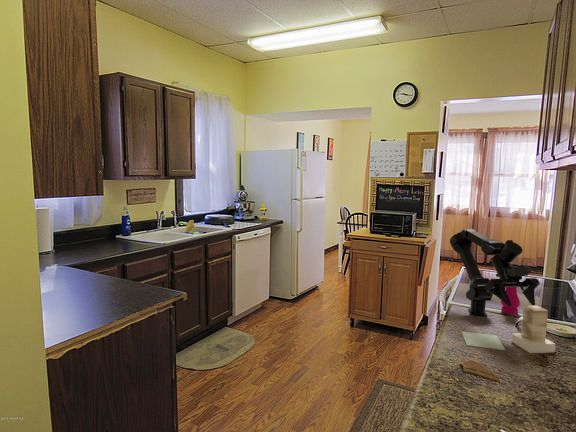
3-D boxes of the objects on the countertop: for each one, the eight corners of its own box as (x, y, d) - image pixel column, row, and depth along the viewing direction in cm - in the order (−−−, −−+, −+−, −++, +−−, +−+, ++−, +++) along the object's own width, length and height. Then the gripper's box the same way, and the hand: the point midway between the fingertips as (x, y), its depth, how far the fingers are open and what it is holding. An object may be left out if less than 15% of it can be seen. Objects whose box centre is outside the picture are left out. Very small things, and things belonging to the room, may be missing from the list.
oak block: (521, 335, 133) (523, 305, 132) (534, 335, 133) (536, 305, 132) (531, 341, 128) (534, 310, 127) (545, 341, 128) (547, 310, 127)
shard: (500, 383, 108) (501, 377, 108) (475, 384, 108) (476, 378, 108) (478, 364, 119) (478, 359, 119) (455, 365, 119) (456, 360, 118)
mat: (461, 332, 143) (461, 331, 143) (496, 336, 140) (496, 335, 140) (467, 345, 131) (467, 344, 131) (505, 350, 128) (505, 349, 128)
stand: (511, 341, 135) (512, 333, 135) (534, 340, 136) (535, 332, 136) (530, 353, 126) (530, 344, 126) (554, 352, 127) (555, 343, 127)
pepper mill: (522, 315, 161) (526, 269, 159) (506, 314, 161) (509, 269, 159) (513, 309, 168) (516, 265, 166) (496, 309, 168) (500, 265, 166)
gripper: (491, 257, 139) (510, 295, 129) (538, 257, 140) (560, 294, 131) (477, 273, 147) (493, 310, 137) (521, 272, 149) (540, 308, 139)
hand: (522, 305), depth 136 cm, fingers open, 9 cm apart
